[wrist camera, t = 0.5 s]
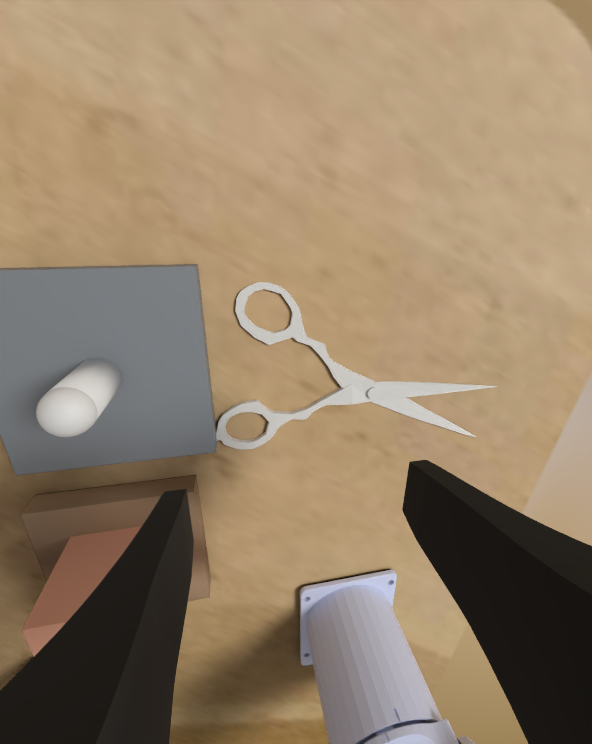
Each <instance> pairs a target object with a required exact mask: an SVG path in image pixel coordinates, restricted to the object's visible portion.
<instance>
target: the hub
mask: <svg viewBox="0 0 592 744" xmlns="http://www.w3.org/2000/svg"><path fill="white" fill-rule="evenodd" d="M0 436H1V438H2V441H3V443H4V446H5V449H6V451H7V454H8V456H9V459H10V462H11V464H12V467H13V469H14V472H15V475H24V474H33V473H41V472H50V471H59V470H67V469H76V468H85V467H93V466H102V465H110V464H119V463H128V462H136V461H145V460H154V459H162V458H171V457H180V456H188V455H197V454H205V453H214V452H216V444H217V438H216V426H215V417H214V408H213V399H212V390H211V381H210V372H209V363H208V354H207V345H206V336H205V326H204V317H203V308H202V299H201V290H200V281H199V272H198V264H184V265H135V266H87V267H38V268H0Z"/></svg>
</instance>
